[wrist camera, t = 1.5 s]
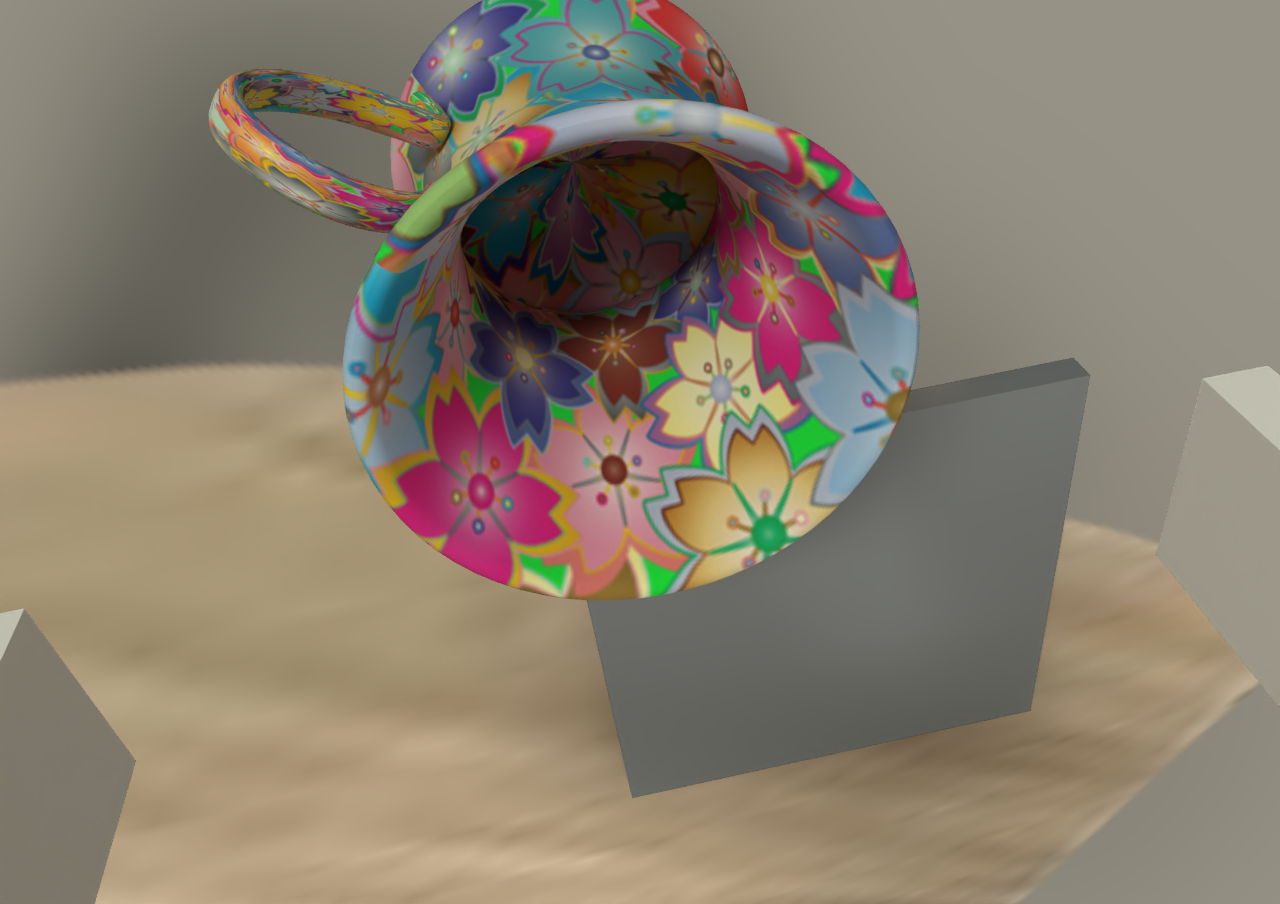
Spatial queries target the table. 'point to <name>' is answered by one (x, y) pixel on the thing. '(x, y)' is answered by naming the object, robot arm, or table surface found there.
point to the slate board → (865, 599)
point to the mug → (599, 299)
